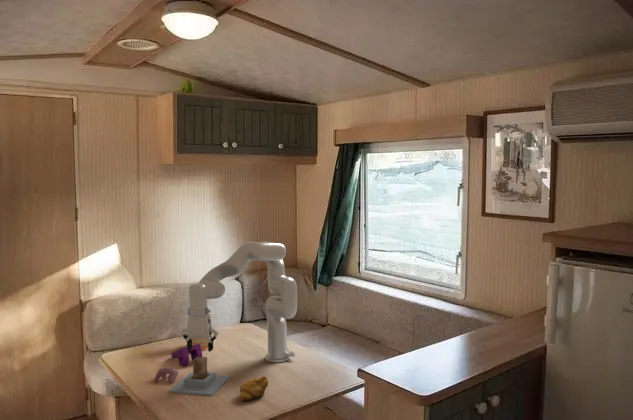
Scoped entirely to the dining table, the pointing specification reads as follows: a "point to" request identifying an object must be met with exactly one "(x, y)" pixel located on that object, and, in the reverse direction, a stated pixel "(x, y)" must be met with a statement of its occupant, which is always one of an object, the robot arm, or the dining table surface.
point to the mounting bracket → (183, 354)
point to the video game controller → (164, 371)
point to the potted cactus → (200, 339)
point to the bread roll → (253, 388)
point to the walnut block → (200, 368)
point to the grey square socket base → (200, 384)
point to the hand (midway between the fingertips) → (200, 350)
